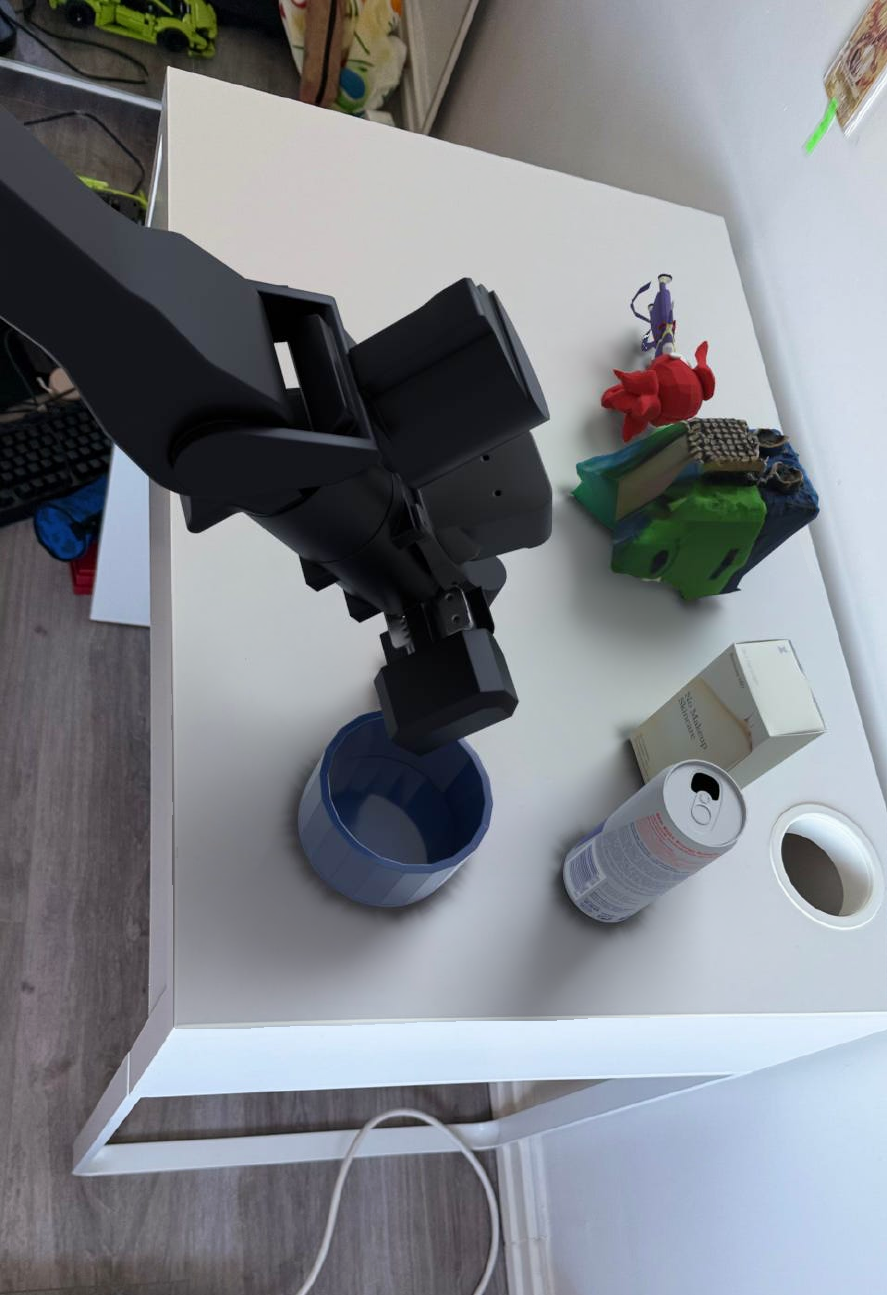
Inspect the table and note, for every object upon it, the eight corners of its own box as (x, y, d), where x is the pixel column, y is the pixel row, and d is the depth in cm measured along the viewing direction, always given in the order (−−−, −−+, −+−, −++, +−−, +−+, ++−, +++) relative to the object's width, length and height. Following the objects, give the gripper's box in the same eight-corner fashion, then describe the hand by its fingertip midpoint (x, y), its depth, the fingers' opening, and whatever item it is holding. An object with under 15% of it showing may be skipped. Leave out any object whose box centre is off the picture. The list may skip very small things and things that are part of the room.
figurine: (685, 327, 91) (701, 468, 84) (585, 317, 90) (593, 458, 83) (711, 261, 85) (730, 406, 79) (604, 249, 84) (615, 395, 78)
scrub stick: (380, 697, 66) (446, 584, 56) (392, 650, 68) (458, 531, 58) (436, 716, 67) (510, 608, 57) (446, 669, 69) (520, 555, 58)
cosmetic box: (626, 735, 72) (728, 637, 61) (682, 730, 73) (790, 633, 63) (657, 823, 70) (768, 737, 59) (714, 815, 71) (831, 730, 61)
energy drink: (646, 859, 68) (756, 778, 58) (632, 937, 65) (745, 866, 55) (569, 828, 67) (667, 740, 57) (552, 905, 64) (651, 827, 54)
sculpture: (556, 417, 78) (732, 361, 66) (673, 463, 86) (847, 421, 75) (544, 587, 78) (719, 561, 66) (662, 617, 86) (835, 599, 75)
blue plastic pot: (279, 878, 60) (300, 841, 55) (319, 731, 64) (342, 685, 60) (442, 927, 62) (477, 895, 57) (470, 781, 66) (504, 741, 62)
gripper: (563, 603, 43) (657, 713, 57) (440, 251, 49) (551, 428, 63) (324, 715, 46) (468, 792, 60) (237, 373, 53) (385, 514, 67)
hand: (471, 624), depth 62 cm, fingers closed on scrub stick, 2 cm apart
